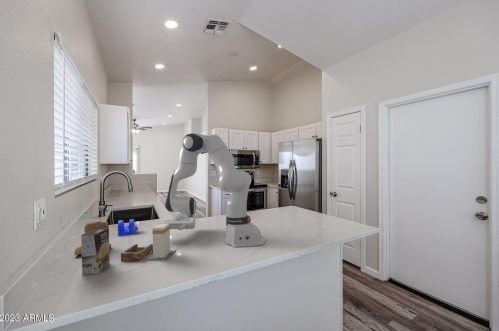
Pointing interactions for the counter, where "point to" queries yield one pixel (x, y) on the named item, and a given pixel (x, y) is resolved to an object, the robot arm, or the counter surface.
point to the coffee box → (95, 251)
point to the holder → (132, 256)
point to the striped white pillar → (161, 240)
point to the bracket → (126, 227)
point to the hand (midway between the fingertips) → (171, 228)
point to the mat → (164, 257)
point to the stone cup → (90, 227)
